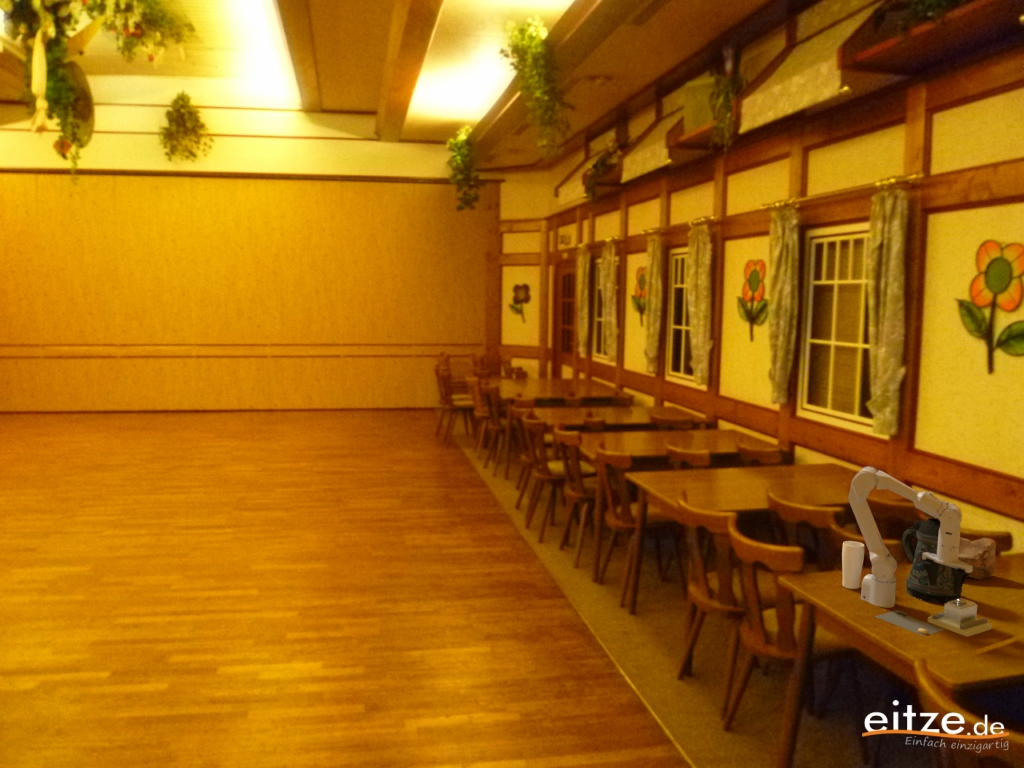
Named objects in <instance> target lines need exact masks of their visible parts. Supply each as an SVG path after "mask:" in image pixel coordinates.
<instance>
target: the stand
mask: <svg viewBox="0 0 1024 768" xmlns="http://www.w3.org/2000/svg"><path fill="white" fill-rule="evenodd" d="M943 619H944V611H942V612H939V613H935V614H932V615H930V616H928V617H927V623H929V624H931V625H934V626H937V627H939V628H942V629H944V630H945V629H946V630H948V631H950V632H954V633H956V634H958V635H962V636H964V637H967V638H968V637H971V636H974V635H978V634H981V633H985V632H986V631H990V630H992V625H993V624H992V623H990V622H988V620H989V619H988V618H985V617H983V618H976V621H973V622H970V623H966V624H963V625H960V626H959V625H956V624H953V623H951V622H948V621H945V620H943Z"/></svg>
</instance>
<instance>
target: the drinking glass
mask: <svg viewBox="0 0 1024 768" xmlns="http://www.w3.org/2000/svg"><path fill="white" fill-rule="evenodd" d="M841 551H842V552H841V557H842V558H841V560H842V561H841V564H842V567H841V569H842V575H841V576H842V579H841V580H842V582H841V585H842V586H843V587H844V588H845V589H850V590H857V589H859V588H860V582H861V576H862V571H863V563H864V557H865V544H864V543H862V542H859V541H854V540H846V541H843V543H842V550H841Z"/></svg>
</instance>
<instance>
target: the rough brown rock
mask: <svg viewBox="0 0 1024 768" xmlns="http://www.w3.org/2000/svg"><path fill="white" fill-rule="evenodd" d="M996 548H997V542H996V540H994V539H992V538H989V537H981V538H979V539H975V540H971V539H968V538H964V537H961V536H960V543H959V554H958V560H960V561H962V562H964V563H966V564H969V565H971V566H973V569H972V572H971V573H970V575H969V576H968V578H971V579H975V580H981V581H982V580H985V579H986V578H989V577H991V576H992V575H993V574H994V573H995V572H996V568H997V567H996V565H997V564H996V559H997V557H996ZM957 570H958V569H957Z"/></svg>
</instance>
